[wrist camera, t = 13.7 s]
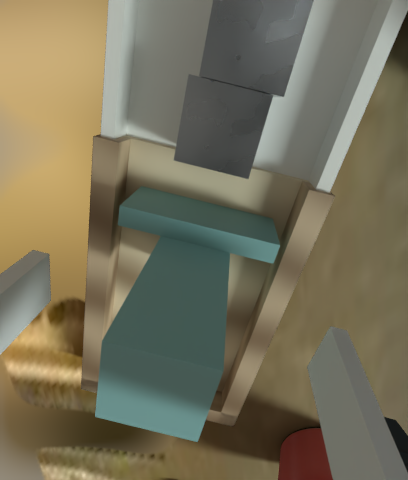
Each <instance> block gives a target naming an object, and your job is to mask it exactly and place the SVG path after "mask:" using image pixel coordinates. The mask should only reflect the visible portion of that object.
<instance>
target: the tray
mask: <svg viewBox="0 0 408 480" xmlns="http://www.w3.org/2000/svg"><path fill="white" fill-rule="evenodd" d="M212 4H213V0H109V1H108V20H107V35H106V52H105V69H104V87H103V103H102V120H101V136H102V137H106V138H110V139H117V138H120V137H123V136H126V135H127V136H131V137H135V138H139V139H143V140H147V141H151V142H155V143H159V144H163V145H167V146H171V147H175V148H176V144H177V138H178V132H179V126H180V121H181V115H182V109H183V104H184V98H185V92H186V86H187V81H188V75H189V74H191V75H194V76H198V77H200V76H199V73H200V68H201V63H202V57H203V52H204V47H205V41H206V36H207V30H208V25H209V20H210V14H211V9H212ZM407 11H408V0H314V1H313V5H312V8H311V11H310V14H309V18H308V21H307V24H306V27H305V30H304V34H303V37H302V40H301V43H300V47H299V50H298V53H297V56H296V60H295V63H294V66H293V69H292V72H291V76H290V79H289V82H288V85H287V89H286V92H285V95H284V97H273V98H272V102H271V105H270V108H269V112H268V115H267V119H266V122H265V125H264V129H263V132H262V135H261V139H260V142H259V145H258V149H257V152H256V156H255V159H254V162H253V166H252V167H256V168H260V169H264V170H268V171H272V172H276V173H280V174H284V175H288V176H292V177H296V178H300V179H304V180H308V181H309V182H310V183H311V184H312V186H313V187H314V188H315V189H316V190H319V191H323V192H327V193H329V192H330V190H331V188H332V185H333V183H334V181H335V178H336V176H337V174H338V171H339V169H340V167H341V164H342V162H343V160H344V158H345V155H346V153H347V151H348V148H349V146H350V144H351V141H352V139H353V137H354V134H355V132H356V130H357V127H358V125H359V123H360V120H361V118H362V116H363V113H364V111H365V109H366V106H367V104H368V102H369V99H370V97H371V95H372V92H373V90H374V88H375V85H376V83H377V81H378V78H379V76H380V74H381V72H382V69H383V67H384V65H385V62H386V60H387V58H388V55H389V53H390V51H391V48H392V46H393V44H394V41H395V39H396V37H397V34H398V32H399V30H400V27H401V25H402V23H403V20H404V18H405V16H406V13H407Z"/></svg>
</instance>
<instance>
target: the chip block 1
mask: <svg viewBox="0 0 408 480" xmlns="http://www.w3.org/2000/svg"><path fill="white" fill-rule="evenodd" d="M313 1H314V0H213V4H212V9H211V14H210V20H209V25H208V30H207V36H206V41H205V47H204V52H203V57H202V63H201V68H200V73H199V76H200V77H202V78H206V79H210V80H214V81H218V82H222V83H226V84H230V85H234V86H238V87H242V88H246V89H250V90H254V91H258V92H262V93H266V94H270V95H273V97H284V95H285V92H286V89H287V85H288V82H289V79H290V76H291V72H292V69H293V66H294V63H295V60H296V56H297V53H298V50H299V47H300V43H301V40H302V37H303V34H304V30H305V27H306V24H307V21H308V18H309V14H310V11H311V8H312V5H313Z"/></svg>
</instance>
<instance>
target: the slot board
mask: <svg viewBox="0 0 408 480" xmlns="http://www.w3.org/2000/svg"><path fill="white" fill-rule="evenodd" d="M175 149H176V148H175V147H171V146H167V145H163V144H159V143H155V142H151V141H147V140H143V139H139V138H135V137H131V136H127V135H126V136H123V137H120V138H117V139H110V138H106V137H102V136H101V134H100V135H97V136H94V137H93V154H92V155H93V156H92V175H91V195H90V217H89V238H88V257H87V258H88V259H87V278H86V299H85V319H84V340H83V361H82V381H81V389H83V390H87V391H91V392H95V393H97V391H98V379H99V368H100V356H101V345H102V340H103V338H104V336H105V335H106V333H107V331H108V329H109V327H110V326H111V324H112V322H113V320H114V319H115V317H116V315H117V313H118V311H119V310H120V308H121V306H122V304H123V303H124V301H125V299H126V297H127V295H128V294H129V292H130V290H131V288H132V287H133V285H134V283H135V281H136V280H137V278H138V276H139V274H140V272H141V271H142V269H143V267H144V265H145V264H146V262H147V260H148V258H149V256H150V255H151V253H152V251H153V249H154V248H155V246H156V244H157V242H158V240H159V239H160V237H161V236H159V235H155V234H151V233H147V232H143V231H139V230H135V229H131V228H127V227H123V226H119V225H118V218H119V208H120V205H121V204H122V203H123V202H124V201H125V200H126V199H128V198H129V197H130V196H131V195H132V194H133V193H134V192H135V191H136V190H138V189H139V188H140V187H141V186H144V187H148V188H152V189H156V190H160V191H164V192H168V193H172V194H176V195H180V196H184V197H188V198H192V199H196V200H200V201H204V202H208V203H212V204H216V205H220V206H224V207H228V208H232V209H236V210H240V211H244V212H248V213H252V214H256V215H260V216H265V217H269V218H273V221H274V225H275V228H276V232H277V235H278V239H279V243H280V248H279V250H278V253H277V255H276V258H275V261H274V263H273V264H272V263H268V262H264V261H260V260H256V259H252V258H248V257H244V256H240V255H236V254H232V253H230V264H229V282H228V300H227V318H226V336H225V354H224V371H223V374H222V377H221V380H220V382H219V385H218V388H217V390H216V393H215V396H214V399H213V401H212V404H211V407H210V410H209V412H208V415H207V418H206V420H208V421H212V422H216V423H220V424H224V425H228V426H232V427H233V426H234V424H235V422H236V420H237V417H238V415H239V413H240V411H241V408H242V406H243V404H244V401H245V399H246V397H247V395H248V392H249V390H250V388H251V386H252V383H253V381H254V379H255V377H256V374H257V372H258V370H259V368H260V365H261V363H262V361H263V358H264V356H265V354H266V352H267V349H268V347H269V345H270V343H271V340H272V338H273V336H274V334H275V331H276V329H277V327H278V325H279V322H280V320H281V318H282V315H283V313H284V311H285V309H286V306H287V304H288V302H289V300H290V297H291V295H292V293H293V291H294V288H295V286H296V284H297V282H298V279H299V277H300V275H301V273H302V270H303V268H304V266H305V263H306V261H307V259H308V257H309V254H310V252H311V250H312V248H313V245H314V243H315V241H316V239H317V236H318V234H319V232H320V230H321V227H322V225H323V223H324V220H325V218H326V216H327V214H328V211H329V209H330V207H331V205H332V202H333V200H334V198H335V196H334V195H333V194H332V193H331V192H329V193H327V192H323V191H319V190H316V189H315V188H314V187H313V186H312V184H311V183H310V182H309V181H308V180H304V179H300V178H296V177H292V176H288V175H284V174H280V173H276V172H272V171H268V170H264V169H260V168H256V167H252V169H251V172H250V176H249V179H245V178H241V177H237V176H233V175H230V174H226V173H222V172H218V171H214V170H210V169H206V168H202V167H198V166H194V165H190V164H186V163H182V162H178V161H174V155H175Z"/></svg>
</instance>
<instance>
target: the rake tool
mask: <svg viewBox="0 0 408 480" xmlns="http://www.w3.org/2000/svg"><path fill="white" fill-rule="evenodd" d="M118 225H119V226H123V227H127V228H131V229H135V230H139V231H143V232H147V233H151V234H155V235H159V236H161V237H160V239H159V240H158V242H157V244H156V246H155V248H154V249H153V251H152V253H151V255H150V256H149V258H148V260H147V262H146V264H145V265H144V267H143V269H142V271H141V272H140V274H139V276H138V278H137V280H136V281H135V283H134V285H133V287H132V288H131V290H130V292H129V294H128V295H127V297H126V299H125V301H124V303H123V304H122V306H121V308H120V310H119V311H118V313H117V315H116V317H115V319H114V320H113V322H112V324H111V326H110V327H109V329H108V331H107V333H106V335H105V336H104V338H103V340H102V345H101V356H100V368H99V379H98V391H97V402H96V413H95V417H98V418H103V419H106V420H110V421H114V422H118V423H123V424H127V425H131V426H135V427H139V428H143V429H147V430H151V431H155V432H159V433H163V434H167V435H171V436H175V437H179V438H183V439H187V440H191V441H195V442H198V440H199V437H200V434H201V431H202V429H203V426H204V423H205V421H206V418H207V415H208V412H209V410H210V407H211V404H212V401H213V399H214V396H215V393H216V390H217V388H218V385H219V382H220V380H221V377H222V374H223V371H224V354H225V336H226V318H227V300H228V282H229V264H230V253H232V254H236V255H240V256H244V257H248V258H252V259H256V260H260V261H264V262H268V263H272V264H273V263H274V261H275V258H276V255H277V253H278V250H279V248H280V243H279V239H278V235H277V232H276V228H275V225H274V221H273V218H269V217H265V216H260V215H256V214H252V213H248V212H244V211H240V210H236V209H232V208H228V207H224V206H220V205H216V204H212V203H208V202H204V201H200V200H196V199H192V198H188V197H184V196H180V195H176V194H172V193H168V192H164V191H160V190H156V189H152V188H148V187H144V186H141V187H140V188H139V189H138V190H136V191H135V192H134V193H133V194H132V195H131V196H130V197H129V198H128V199H126V200H125V201H124V202H123V203H122V204H121V205H120V208H119V218H118Z"/></svg>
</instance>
